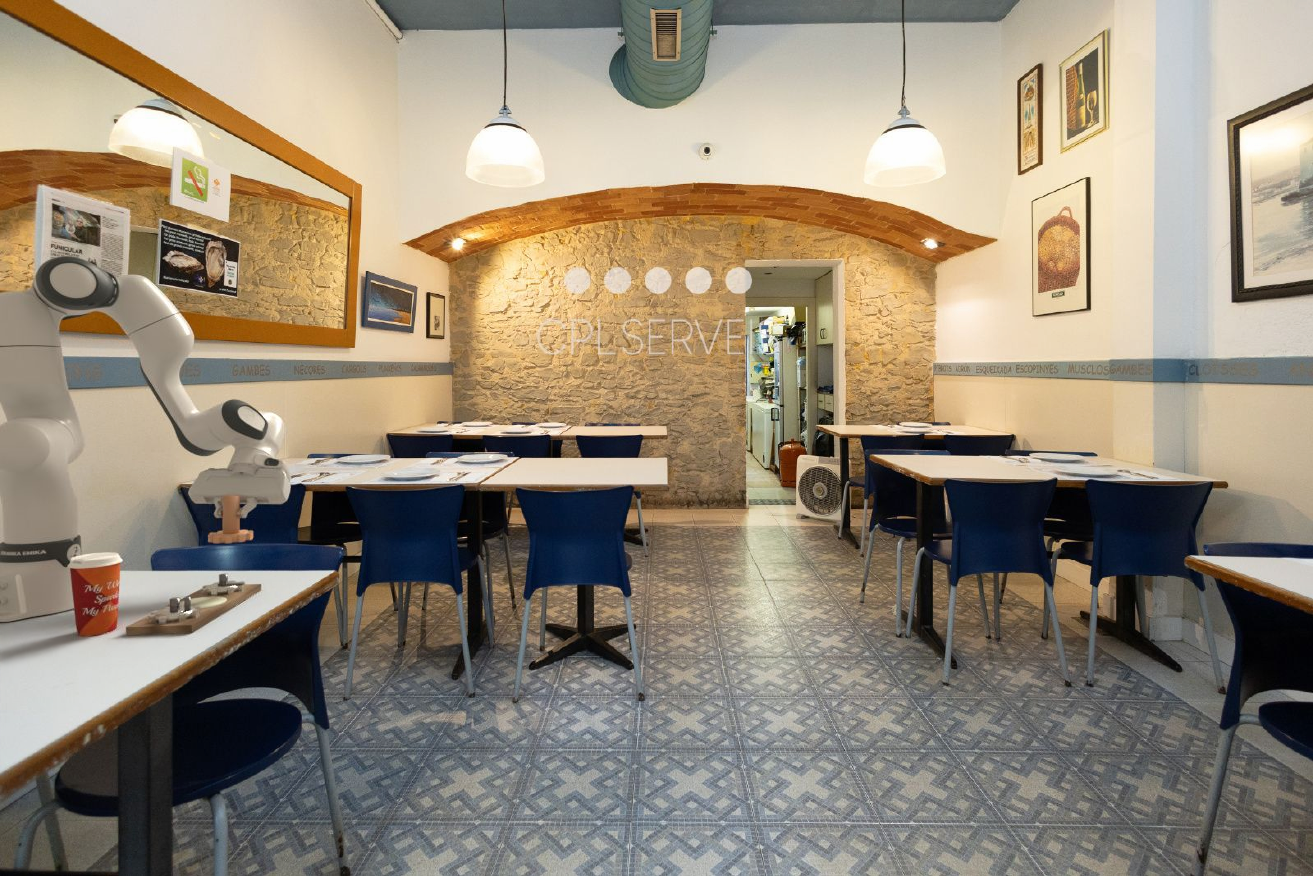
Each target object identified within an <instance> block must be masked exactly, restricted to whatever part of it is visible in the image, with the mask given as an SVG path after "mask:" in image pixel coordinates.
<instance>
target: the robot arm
mask: <svg viewBox="0 0 1313 876" xmlns="http://www.w3.org/2000/svg"><path fill="white" fill-rule="evenodd" d="M92 312H100V313H103V314H106V315H107V316H109V317H110V318H111V319H113V320H114V321H115V322H116V323H117V324H118V325H119V326H120V328H121V329H122V330H123V332H124V333H125V334H126V336H127V337H128V338H129V339H130V342H131V343H132V344H133V346H134V347H135V350H136V352H137V353H138V357H139V360H140V362H139V369H140V372H141V374H142V376H143V378H144V380H145V382H146V384H147V385H148V387H149V389H150V390H151V392H152V395H154V396H155V397H154V398H155V399H156V400H157V402H158V404H159V405H160V406H161V408H162V410H163V412H164V413H165V414H166V417H167V418H168V419H169V421H170V423H171V425H172V427H173V429H174V433H175V435H176V439H178V442H179V443H180V445H181V446H182V448H183V449H184V450H186V451H187V452H189V453H191V454H192V455H195V456H199V457H210V456H212V455H214V454H216V453H218V452H219V451H221V450H223V449H225V448H228V447H229V446H232V447H233V448H234V452H233V455H232V457H231V458H230V460H229V462H228V465H227V467H222V468H214V467H211V468H208V469H205V470H203V471H200V472H199V473H198V475H197V478H195V480H194V482H193V483H192V485H191V486H190V488H189V489H188V492H187V493H188V496H189V498H190V499H191V501H192V502H193V503H194V504H198V505H199V504H200V505H201V504H204V505H205V504H206V505H207V504H209V505H212V504H214V506H215V510H214V512H213V515H214V517H215V518H216V519H223V496H224V495H240V505H242V504H243V505H244V506H243V507H240V508H238V511H237V513H236V515H237V516H238V518H240V519H246V518H247V517H248V513H250V512H251V511H252V510H254V509H255V508H257V505H283V504H284V503H286V502H288V499H289V498H290V497H289V496H290V494H291V488H292V487H291V483H290V482H291V480H292V474H291V471H290V469H289V466H288V465H287V463H286V462H285V460H283V459H279V458H276V457H277V456H278V455H279V453H280V451H281V449H282V446H283V442H284V440H285V439H284V438H285V435H286V426H285V422H284V420H283V419H282V418H281V417H280V416H279V415H277V414H276V413H273V412H271V411H266V410H258V409H256V408H255V407H253V406H252V405H250V404H249V403H248V402H246V401H243V400H242V399H241V400H240V399H235V398H233V399H229V400H226V401H223V402H221V403H219V404H217V405H214V406H212V407H211V408H208V409H206V410H204V411H200V410H198V409H197V407H196V406H195V404H194V402H193V401H192V399H191V398H190V395H189V394H188V392H187V390H186V389H185V387H184V385H183V383H182V382H181V379H180V371H181V368H182V366H183V364H184V363H185V361H186V360H187V358H188V357H189V356H190V354H191V352H192V351H193V348H194V344H195V335H194V332H193V329H192V328H191V326H190V324H189V323H188V321H187V320H186V318H185V317H184V316H183V315H182V313H181V312H180V311H179V309H178V308H177V307H176V306H175V305H174V303H173V302H172V301H171V300H170V299H169V298H168V296H166V294H165V293H164V292H162V290H161V289H160V288H159V287H157V285H155V284H154V283H153V281H151V280H150V279H149V278H148V277H147V276H143V275H140V274H123V275H120V276H118V277H117V276H116V275H114V274H113V273H111V272H109V271H107V270H105V269H103V268H101V267H100V266H97V264H94V263H91V262H90V261H88V260H85V259H83V258H80V257H76V256H70V255H69V256H66V255H62V256H56V257H53V258H50V259H47V260H46V261H45V262H43V263H42V264H41V265H40V266H39V267H38V269H37V272H36V273H35V275H34V277H33V281H32V284H31V286H30V288H28V289H26V290H21V291H17V290H15V291H13V290H12V291H3V292H0V405H1V408H2V410H3V413H4V415H5V417H6V422H3V423H1V424H0V499H1V509H2V530H3V531H2V534H3V536H2V537H3V541H1V542H0V623H7V622H8V623H9V622H13V621H19V620H23V619H24V620H25V619H27V618H33V617H38V616H45V615H51V614H55V613H56V614H57V613H61V612H65V611H69V610H74V603H73V593H72V583H71V574H70V568H68V567H67V566H68V564H70V560H71V558H73V557H76V556H80V555H82V552H83V551H82V538H81V537H82V536H81V535H80V534H79V525H78V524H79V523H78V522H79V521H78V518H79V516H78V498H77V495H76V494H75V492H74V488H73V485H72V482H71V477H70V473H69V466H68V465H70V464H71V463H73V462H74V461H75V460H77V459H78V458H79V457H80V455H81V454H82V453H83V451H84V449H85V446H86V437H85V434H84V432H83V430H82V428H81V425H80V420H79V417H78V414H77V411H76V408H75V405H74V402H73V400H72V396H71V394H70V390H69V386H68V381H67V375H66V369H65V361H64V355H63V349H62V343H61V337H60V336H61V335H60V324H61V321H62V322H63V321H66V320H69V319H75V318H81V317H84V316H87V315H89V314H91V313H92Z"/></svg>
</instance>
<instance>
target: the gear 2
mask: <svg viewBox="0 0 1313 876" xmlns="http://www.w3.org/2000/svg"><path fill="white" fill-rule="evenodd" d="M228 577H229V573H220V574H219V575H218V581H216V582H215V581H214V582H213V583H211V584H205V585H203V586H202V588H201V589H202V595H211V596H218V595H223V594H228V595H229V594H234V592H237V591H243V590H244V587H245V584H246V583H245V581H236V580H229V578H228Z"/></svg>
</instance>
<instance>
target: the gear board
mask: <svg viewBox="0 0 1313 876" xmlns="http://www.w3.org/2000/svg"><path fill="white" fill-rule="evenodd" d="M259 591H260V592H261V591H262V583H250V584H248V583H247V584H246V583H245V587H244V590H243V591H237V592H234V594H229V595H228V594H223V595H218V596H211V595H202V588H200V589H198V590H196V591H194V592H192V593H190V594H189V595H187V596H185V597H191V606H193V607H194V606H200V613H199V616H198V617H196V618H190V619H186V621H183V622H170V623H167V624H159V623H158V622H154V623H150V622H149V615H147V616H146V617H143V618H141V619H138V620H137V621H135V622H133V623H131V624H130V625H127V626H125V635H126V636H141V635H142V636H143V635H175V634H176V635H177V634H179V635H180V634H193V633H194V632H196V631H198V630H199V629H201V628H203V627H204V626H206V625H208V624H209V623H211V622H212V621H214V620H216V619H217V618H219V617H220V616H222V615H224V614H225V613H227V612H228V611H230V610H232V609H234V608H235V607H237V606H238V605H237V604H239V605H240V604H241V602H242V603H243V602H245V601H246V600H248V599H250V598H252V597H253V596H254V594H255V595H256V594H258V593H259ZM257 592H258V593H257ZM252 595H253V596H252ZM251 596H252V597H251ZM249 597H250V598H249ZM244 600H245V601H244ZM183 605H184V597H182V598H180V606H183ZM236 605H237V606H236ZM165 607H170V604H169V605H167V606H165ZM165 607H163V608H161V609H160V610H162V609H164V608H165Z"/></svg>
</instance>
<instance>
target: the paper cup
mask: <svg viewBox="0 0 1313 876" xmlns="http://www.w3.org/2000/svg"><path fill="white" fill-rule="evenodd" d="M122 562H123V559H122V558H121V555H120V554H119V553H118V552H109V551H107V552H106V551H105V552H104V551H103V552H94V553H86V554H85V553H84V554H81V555H80V556H76V557H73V558H71V560H70V564H68V566H67V567H68V568H70V574H71V583H72V593H73V603H74V608H73V610H74V620H75V621H74V622H75V627H76V635H77V636H79V637H96V636H100V635H105V634H108V633H107V632H109V633H111V631H112V632H114V631H116V630H117V628H118V617H119V599H120V579H121V577H120V576H121V563H122ZM115 629H116V630H115ZM113 630H114V631H113ZM104 633H105V634H104Z"/></svg>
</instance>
